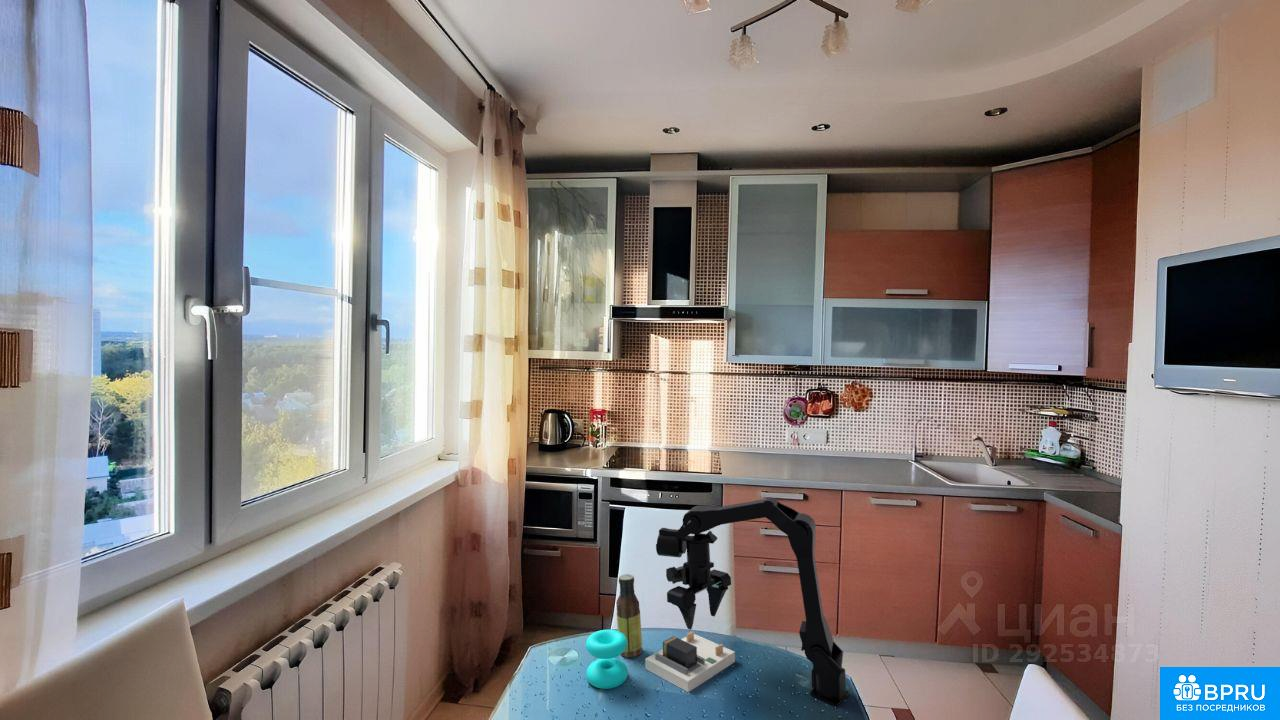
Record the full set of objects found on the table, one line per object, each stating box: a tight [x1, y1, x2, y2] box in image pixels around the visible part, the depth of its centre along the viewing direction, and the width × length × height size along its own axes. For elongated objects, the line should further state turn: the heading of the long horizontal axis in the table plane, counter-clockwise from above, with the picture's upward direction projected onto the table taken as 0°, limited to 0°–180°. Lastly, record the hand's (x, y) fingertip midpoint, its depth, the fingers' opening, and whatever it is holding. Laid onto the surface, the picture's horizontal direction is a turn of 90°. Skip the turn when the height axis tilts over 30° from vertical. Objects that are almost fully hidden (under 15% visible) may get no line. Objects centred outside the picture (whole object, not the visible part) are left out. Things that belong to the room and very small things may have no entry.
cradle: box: [644, 630, 736, 693], centre depth 134 cm, size 14×18×4 cm
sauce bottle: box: [616, 573, 643, 658], centre depth 141 cm, size 7×6×20 cm
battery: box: [662, 635, 697, 669], centre depth 132 cm, size 8×4×4 cm, turn 44°
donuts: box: [585, 629, 629, 690], centre depth 129 cm, size 10×10×10 cm
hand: (701, 622), depth 133 cm, fingers open, 9 cm apart
